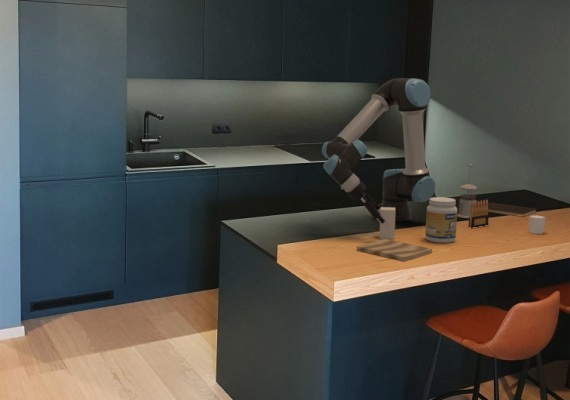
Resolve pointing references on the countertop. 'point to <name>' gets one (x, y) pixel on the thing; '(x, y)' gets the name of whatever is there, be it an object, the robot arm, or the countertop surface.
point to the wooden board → (394, 249)
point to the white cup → (536, 224)
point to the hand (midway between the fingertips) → (389, 224)
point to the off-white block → (390, 217)
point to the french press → (466, 200)
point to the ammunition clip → (478, 214)
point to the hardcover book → (509, 209)
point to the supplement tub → (441, 220)
